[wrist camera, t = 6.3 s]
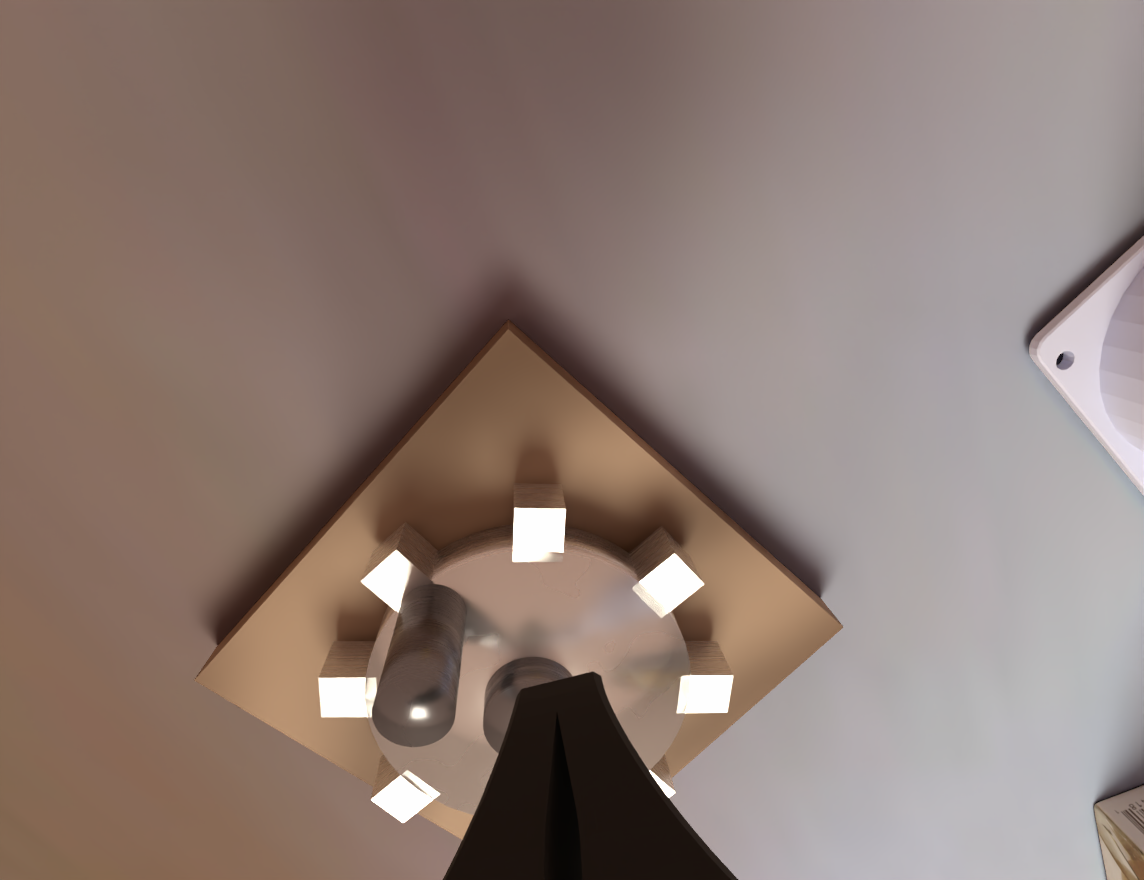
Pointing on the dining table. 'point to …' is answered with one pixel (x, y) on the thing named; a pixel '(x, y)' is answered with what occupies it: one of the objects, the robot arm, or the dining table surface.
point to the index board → (485, 500)
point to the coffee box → (1122, 834)
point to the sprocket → (516, 647)
